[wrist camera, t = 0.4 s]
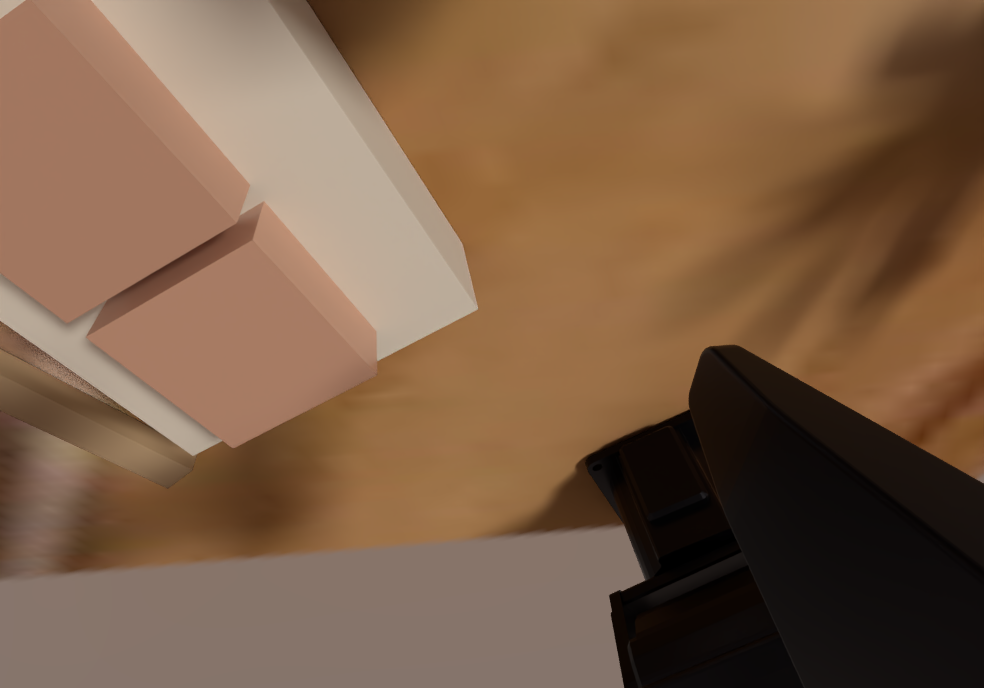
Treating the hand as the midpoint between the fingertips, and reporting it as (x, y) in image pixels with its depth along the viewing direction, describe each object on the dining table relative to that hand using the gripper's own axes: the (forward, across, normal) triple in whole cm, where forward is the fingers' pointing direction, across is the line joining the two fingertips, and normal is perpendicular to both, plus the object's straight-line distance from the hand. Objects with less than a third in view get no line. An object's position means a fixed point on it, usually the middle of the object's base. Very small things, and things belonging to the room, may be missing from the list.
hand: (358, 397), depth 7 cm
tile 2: (+9, +4, +5) cm, 11 cm away
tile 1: (+9, +6, 0) cm, 11 cm away
